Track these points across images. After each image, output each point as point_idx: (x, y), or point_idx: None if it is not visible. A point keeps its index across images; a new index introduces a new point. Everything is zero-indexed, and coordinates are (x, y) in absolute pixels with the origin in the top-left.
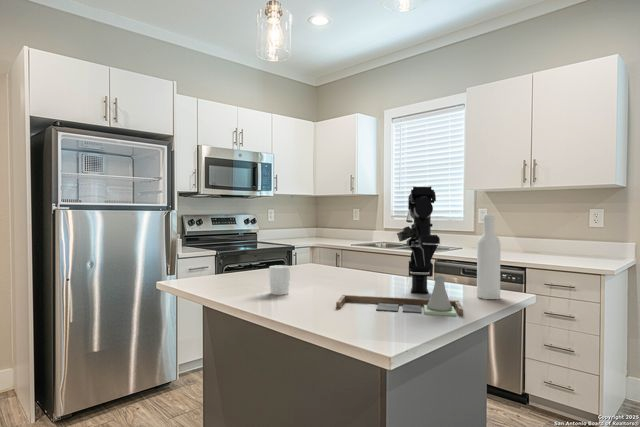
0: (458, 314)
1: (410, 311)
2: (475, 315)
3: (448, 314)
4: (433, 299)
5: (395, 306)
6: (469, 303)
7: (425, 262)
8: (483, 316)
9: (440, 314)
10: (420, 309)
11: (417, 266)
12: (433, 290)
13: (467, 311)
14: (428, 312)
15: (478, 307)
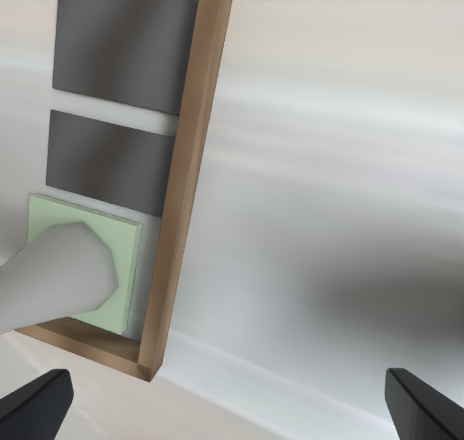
0: None
1: (49, 142)
2: (50, 359)
3: None
4: (22, 250)
5: (122, 88)
6: (227, 433)
7: (14, 402)
8: None
9: None
10: (82, 193)
11: (388, 373)
12: (6, 271)
13: None
14: (31, 208)
15: (161, 428)
